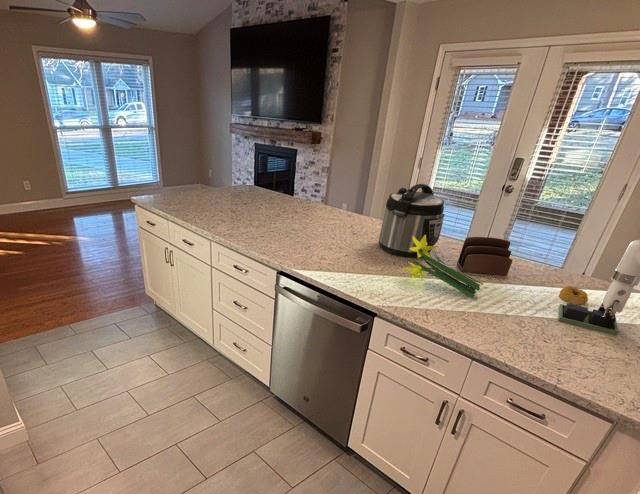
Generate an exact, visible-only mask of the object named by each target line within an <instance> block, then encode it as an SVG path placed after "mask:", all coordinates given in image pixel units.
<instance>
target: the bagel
mask: <svg viewBox="0 0 640 494" xmlns="http://www.w3.org/2000/svg"><path fill="white" fill-rule="evenodd" d="M558 297H559V298H560V299H561V300H562V301H564V302H566V303H569V304H573V305H578V306H583V305H584V304H586V303H587V302H588V301H589V297H588V292H586V291H584V290H583V289H581V288H577V287H575V286H571V285H566V286H564V287H562V288H561V289H560V291H559V294H558Z"/></svg>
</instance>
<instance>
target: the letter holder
mask: <svg viewBox="0 0 640 494" xmlns="http://www.w3.org/2000/svg"><path fill="white" fill-rule="evenodd" d="M510 246H511V241H510V240H507V239H502V238H498V237H491V236H488V237H487V236H468V237H466V238H465V239H464V241H463V245H462V248H461V250H460V253H459V255H458V256H459V257H458V259H457V263H456V264H457V266H458V267H459V269H460V270H461V271H460V272H467V273H475V274H476V273H477V274H485V275H486V274H487V275H497V276H508V275H509V271H510V269H511V267H512V264H513V261H514V260H513V259H512V258H510V257H511V254H512V250H510V249H509V248H510Z"/></svg>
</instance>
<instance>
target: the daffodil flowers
mask: <svg viewBox="0 0 640 494" xmlns="http://www.w3.org/2000/svg"><path fill="white" fill-rule="evenodd" d="M412 237H413V241H414V243H415V244H416V246H417V247H412V248H409V249H410V250H412V251H416V252H417V256H418V257H417V259H416V260H415V259H411V261H412V262H410V261H407V263H408V264H409V265H410V266H411V267H409V266H406V267H403V268H402V269H403V270H406V271H410V273H409V276H410V277H411V278H412V279H415V278H416V277H417V276H419V278H420V280H421V282H422V284H423V285H425V282H424V278H423V276H424V277H429V276H430V277H436V278H437V279H439V280H441V281H443V282H444V283H445V284H447V285H449V286H450V287H453V288H454V289H456V290H457V291H459V292H461V293H463V294H465V295H466V296H468V297H470V298H472V299H474V298H475V296H476V295H475V294H477V291H480V289H481V285H482V286H483V285H484V283H483V282H481V281H479V280H477V279H476V278H473V277H471V276H470V275H467V274H465V273H463V272H462V271H459V270H457V269H455V268H453V267H451V266H449V265H447V263H445V262H444V261H443V260H442V259H441V258H440V257H439V256H438V255H437V253H436V251H435V249H438V248H440V246H439V245H434V246H426V245H427V242H426V235H424V237H423V238H422V240H421V242H419V241H418V240H417V239H416V238H415V237H414V236H413V235H412ZM427 250H431V251H432V253H433V256H434V258H435V259H434V258H433V257H432V256H431V255H430V252H429V253H428V252H427ZM421 257H422V258H421ZM418 261H424V262H425V263H426V264H427V265H428V266H429V267H427V266H425V265H424V264H422V263H420V262H418ZM425 272H426V273H425Z"/></svg>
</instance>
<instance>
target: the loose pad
mask: <svg viewBox="0 0 640 494" xmlns="http://www.w3.org/2000/svg"><path fill="white" fill-rule="evenodd" d="M591 311H592V313H591V315H590V316H589V318H588V320H589V324H592V325H596V326H597V323H598V322H599V320H600V318H601V316H603V315H604V311H599V310H598V309H595V308H593V309H592V310H591ZM607 313H608V312H607ZM616 318H617V317H616V315H615V316H614V318H613V320H612V321H611V323H610V325H609V327H608V329H611V327H612V326H613V324H614V322H615V321H616V322H617V319H616Z"/></svg>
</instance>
